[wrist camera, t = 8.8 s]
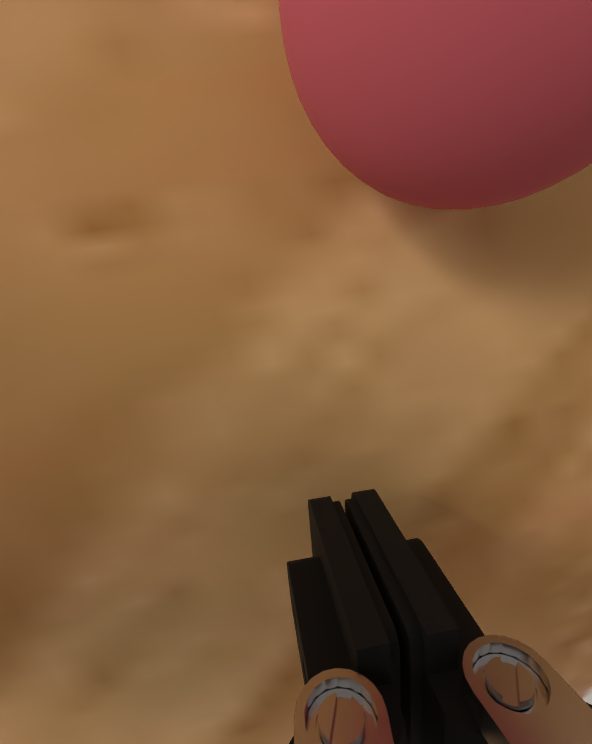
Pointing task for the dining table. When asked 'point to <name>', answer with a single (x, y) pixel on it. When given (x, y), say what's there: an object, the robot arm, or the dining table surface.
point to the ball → (447, 93)
